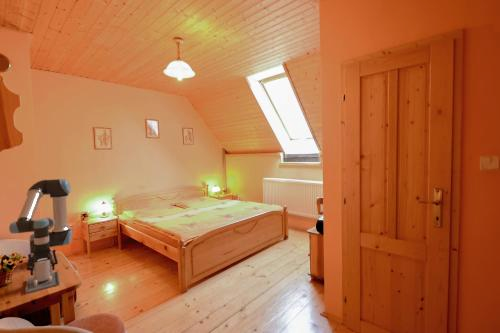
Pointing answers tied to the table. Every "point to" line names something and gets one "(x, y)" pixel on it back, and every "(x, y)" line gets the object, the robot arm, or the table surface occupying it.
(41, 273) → the cup
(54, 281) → the tray
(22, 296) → the table surface
